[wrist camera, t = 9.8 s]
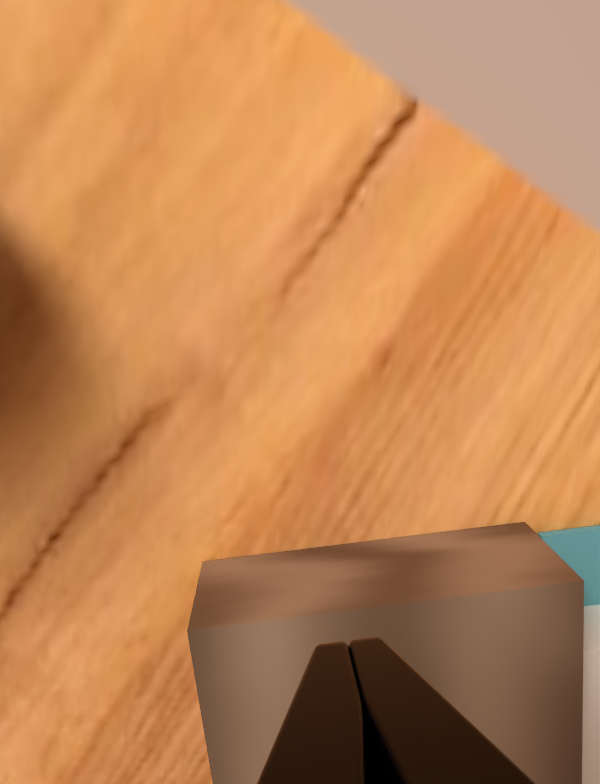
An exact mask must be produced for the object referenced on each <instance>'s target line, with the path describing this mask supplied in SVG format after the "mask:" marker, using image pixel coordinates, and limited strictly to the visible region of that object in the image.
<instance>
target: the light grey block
mask: <svg viewBox="0 0 600 784" xmlns="http://www.w3.org/2000/svg"><path fill="white" fill-rule="evenodd" d="M582 784H600V605H591V606H584V635H583V728H582Z"/></svg>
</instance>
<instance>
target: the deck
mask: <svg viewBox="0 0 600 784" xmlns="http://www.w3.org/2000/svg"><path fill="white" fill-rule="evenodd" d="M187 632H188V638H189V644H190V650H191V656H192V662H193V668H194V674H195V680H196V685H197V691H198V697H199V703H200V709H201V715H202V721H203V727H204V733H205V739H206V745H207V751H208V757H209V763H210V769H211V775H212V780H213V784H257V782H258V780H259V777H260V775H261V772H262V770H263V768H264V765H265V763H266V761H267V758H268V756H269V754H270V751H271V749H272V747H273V744H274V742H275V740H276V737H277V735H278V733H279V730H280V728H281V726H282V723H283V721H284V719H285V716H286V714H287V711H288V709H289V707H290V704H291V702H292V700H293V697H294V695H295V693H296V690H297V688H298V686H299V683H300V681H301V679H302V676H303V674H304V672H305V669H306V667H307V665H308V662H309V660H310V658H311V655H312V653H313V651H314V649H315V647H316V646H317V645H319V644H325V643H332V642H340V641H344V642H346V643H347V645H348V647H349V643H350V642H351V641H352V640H356V639H364V638H371V637H379V638H381V639H382V640H383V641H385V642H386V643H387V644H388V645H389V646H390V647H391V648H392V649H393V650H394V651H395V652H396V653H397V654H398V655H399V656H401V657H402V658H403V659H404V660H405V661H406V662H407V663H408V664H409V665H410V666H411V667H412V668H413V669H414V670H415V671H417V672H418V673H419V674H420V675H421V676H422V677H423V678H424V679H425V680H426V681H427V682H428V683H429V684H430V685H431V686H433V687H434V688H435V689H436V690H437V691H438V692H439V693H440V694H441V695H442V696H443V697H444V698H445V699H446V700H447V701H449V702H450V703H451V704H452V705H453V706H454V707H455V708H456V709H457V710H458V711H459V712H460V713H461V714H462V715H464V716H465V717H466V718H467V719H468V720H469V721H470V722H471V723H472V724H473V725H474V726H475V727H476V728H477V729H478V730H480V731H481V732H482V733H483V734H484V735H485V736H486V737H487V738H488V739H489V740H490V741H491V742H492V743H493V744H494V745H496V746H497V747H498V748H499V749H500V750H501V751H502V752H503V753H504V754H505V755H506V756H507V757H508V758H509V759H510V760H512V761H513V762H514V763H515V764H516V765H517V766H518V767H519V768H520V769H521V770H522V771H523V772H524V773H525V774H526V775H528V776H529V777H530V778H531V779H532V780H533V781H534V782H535V783H536V784H582V728H583V635H584V580H583V579H582V578H581V577H580V576H579V575H578V574H577V573H576V572H575V571H574V570H573V569H572V568H571V567H570V566H569V565H568V564H567V563H566V562H565V561H564V560H563V559H562V558H561V557H560V556H559V555H558V554H557V553H556V552H555V551H554V550H552V549H551V548H550V547H549V546H548V545H547V544H546V543H545V542H544V541H543V540H542V539H541V538H540V537H539V536H538V535H537V534H536V533H535V532H534V531H533V530H532V529H531V528H530V527H529V526H528V525H527V524H526V523H525V522H521V523H513V524H505V525H497V526H489V527H481V528H473V529H464V530H456V531H448V532H440V533H432V534H424V535H416V536H407V537H399V538H391V539H383V540H375V541H367V542H359V543H350V544H342V545H334V546H326V547H318V548H310V549H302V550H294V551H285V552H277V553H269V554H261V555H253V556H245V557H237V558H228V559H220V560H212V561H204V562H202V567H201V571H200V576H199V580H198V585H197V589H196V594H195V599H194V603H193V608H192V612H191V617H190V621H189V626H188V630H187Z"/></svg>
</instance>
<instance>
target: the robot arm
mask: <svg viewBox="0 0 600 784" xmlns="http://www.w3.org/2000/svg"><path fill="white" fill-rule="evenodd" d="M257 784H536V783H535V782H534V781H533V780H532V779H531V778H530V777H529V776H528V775H526V774H525V773H524V772H523V771H522V770H521V769H520V768H519V767H518V766H517V765H516V764H515V763H514V762H513V761H512V760H510V759H509V758H508V757H507V756H506V755H505V754H504V753H503V752H502V751H501V750H500V749H499V748H498V747H497V746H496V745H494V744H493V743H492V742H491V741H490V740H489V739H488V738H487V737H486V736H485V735H484V734H483V733H482V732H481V731H480V730H478V729H477V728H476V727H475V726H474V725H473V724H472V723H471V722H470V721H469V720H468V719H467V718H466V717H465V716H464V715H462V714H461V713H460V712H459V711H458V710H457V709H456V708H455V707H454V706H453V705H452V704H451V703H450V702H449V701H447V700H446V699H445V698H444V697H443V696H442V695H441V694H440V693H439V692H438V691H437V690H436V689H435V688H434V687H433V686H431V685H430V684H429V683H428V682H427V681H426V680H425V679H424V678H423V677H422V676H421V675H420V674H419V673H418V672H417V671H415V670H414V669H413V668H412V667H411V666H410V665H409V664H408V663H407V662H406V661H405V660H404V659H403V658H402V657H401V656H399V655H398V654H397V653H396V652H395V651H394V650H393V649H392V648H391V647H390V646H389V645H388V644H387V643H386V642H385V641H383V640H382V639H381V638H379V637H371V638H364V639H356V640H352V641H351V642H350V643H349V647H348V645H347V643H346V642H344V641H340V642H332V643H325V644H319V645H317V646H316V647H315V649H314V651H313V653H312V655H311V658H310V660H309V662H308V665H307V667H306V669H305V672H304V674H303V676H302V679H301V681H300V683H299V686H298V688H297V690H296V693H295V695H294V697H293V700H292V702H291V704H290V707H289V709H288V711H287V714H286V716H285V719H284V721H283V723H282V726H281V728H280V730H279V733H278V735H277V737H276V740H275V742H274V744H273V747H272V749H271V751H270V754H269V756H268V758H267V761H266V763H265V765H264V768H263V770H262V772H261V775H260V777H259V780H258V782H257Z"/></svg>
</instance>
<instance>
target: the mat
mask: <svg viewBox="0 0 600 784" xmlns="http://www.w3.org/2000/svg"><path fill="white" fill-rule="evenodd" d="M538 536H539V537H540V538H541V539H542V540H543V541H544V542H545V543H546V544H547V545H548V546H549V547H550V548H551V549H552V550H554V551H555V552H556V553H557V554H558V555H559V556H560V557H561V558H562V559H563V560H564V561H565V562H566V563H567V564H568V565H569V566H570V567H571V568H572V569H573V570H574V571H575V572H576V573H577V574H578V575H579V576H580V577H581V578H582V579H583V580H584V606H591V605H600V525H597V526H588V527H580V528H572V529H564V530H556V531H548V532H540V533H538Z"/></svg>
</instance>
